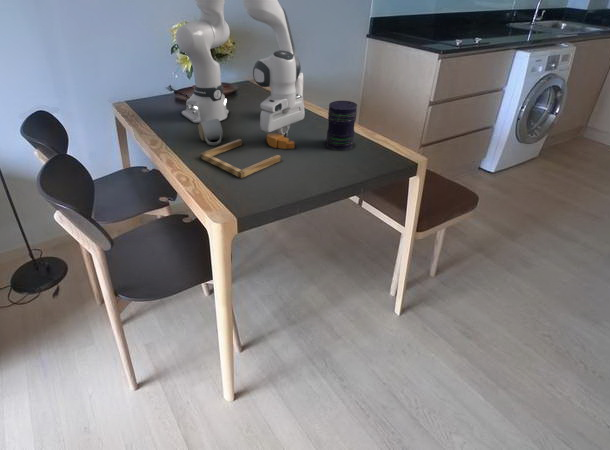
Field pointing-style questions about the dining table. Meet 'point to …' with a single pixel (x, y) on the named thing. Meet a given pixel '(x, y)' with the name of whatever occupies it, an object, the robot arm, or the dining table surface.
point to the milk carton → (299, 85)
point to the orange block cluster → (279, 141)
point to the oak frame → (231, 169)
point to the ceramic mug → (211, 131)
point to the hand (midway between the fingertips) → (283, 137)
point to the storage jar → (341, 125)
